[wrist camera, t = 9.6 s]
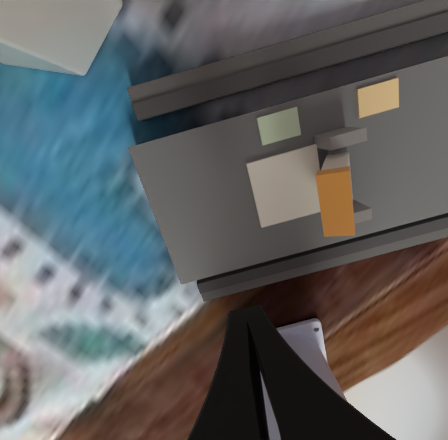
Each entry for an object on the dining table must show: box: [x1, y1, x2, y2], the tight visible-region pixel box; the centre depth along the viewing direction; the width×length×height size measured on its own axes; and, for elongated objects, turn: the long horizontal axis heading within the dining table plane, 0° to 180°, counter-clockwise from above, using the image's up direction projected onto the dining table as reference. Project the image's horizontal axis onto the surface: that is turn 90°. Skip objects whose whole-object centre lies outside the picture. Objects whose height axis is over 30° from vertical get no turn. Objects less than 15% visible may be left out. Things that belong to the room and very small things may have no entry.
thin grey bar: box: [197, 213, 448, 301], centre depth 20 cm, size 2×22×2 cm, turn 105°
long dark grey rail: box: [127, 0, 448, 121], centre depth 15 cm, size 2×22×2 cm, turn 105°
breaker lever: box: [316, 147, 355, 237], centre depth 14 cm, size 3×1×5 cm, turn 15°
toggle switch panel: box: [128, 56, 448, 284], centre depth 17 cm, size 10×28×4 cm, turn 105°
